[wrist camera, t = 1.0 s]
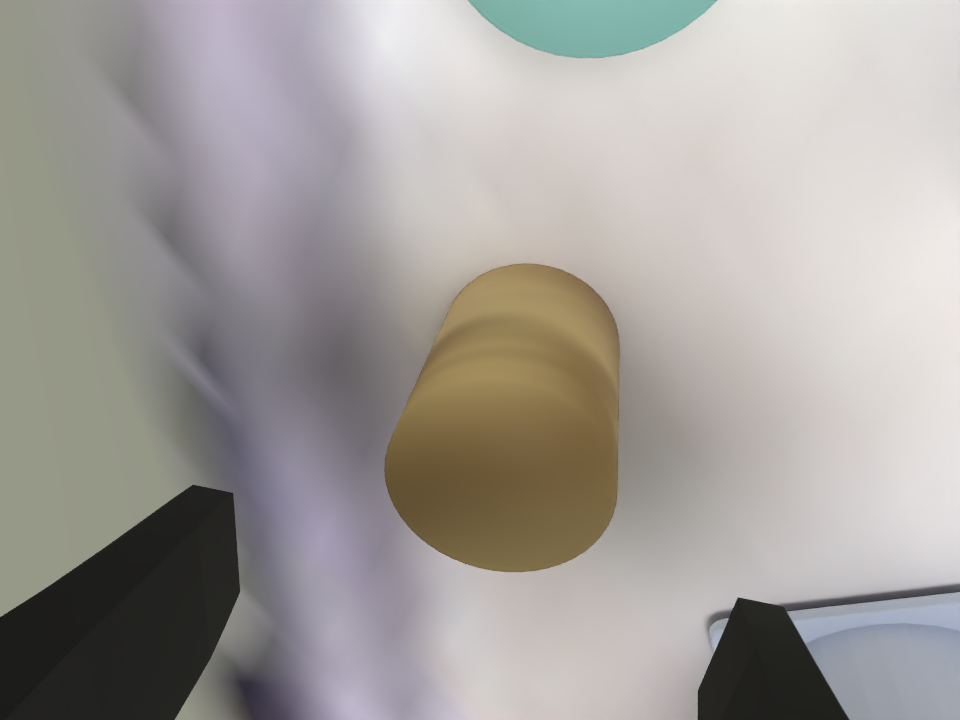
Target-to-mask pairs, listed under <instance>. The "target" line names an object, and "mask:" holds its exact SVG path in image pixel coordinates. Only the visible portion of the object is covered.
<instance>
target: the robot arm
mask: <svg viewBox="0 0 960 720" xmlns="http://www.w3.org/2000/svg"><path fill="white" fill-rule="evenodd" d="M239 593H240V584H239V569H238V555H237V541H236V527H235V513H234V499H233V493H230V492H225V491H221V490H216V489H211V488H206V487H201V486H196V485H192V486H191V487H189V488H188V489H186V490H185V491H183V492H182V493H180V494H179V495H177V496H176V497H175V498H173V499H172V500H170V501H169V502H168V503H166V504H165V505H163V506H162V507H161V508H159V509H158V510H156V511H155V512H154V513H152V514H151V515H150V516H148V517H147V518H146V519H144V520H143V521H141V522H140V523H138V524H137V525H136V526H134V527H133V528H132V529H130V530H129V531H127V532H126V533H125V534H123V535H122V536H120V537H119V538H118V539H116V540H115V541H113V542H112V543H111V544H109V545H108V546H106V547H105V548H104V549H102V550H101V551H99V552H98V553H96V554H95V555H93V556H92V557H91V558H89V559H88V560H86V561H85V562H83V563H82V564H80V565H79V566H77V567H76V568H75V569H73V570H72V571H70V572H69V573H67V574H66V575H64V576H63V577H61V578H60V579H59V580H57V581H56V582H54V583H53V584H51V585H50V586H49V587H47V588H45V589H44V590H42V591H41V592H39V593H38V594H36V595H35V596H33V597H31V598H30V599H28V600H27V601H25V602H24V603H22V604H20V605H19V606H17V607H16V608H14V609H12V610H11V611H9V612H8V613H6V614H5V615H3V616H2V617H0V720H175V718H176V716H177V715H178V713H179V711H180V710H181V708H182V706H183V705H184V703H185V701H186V699H187V698H188V696H189V694H190V693H191V691H192V689H193V688H194V686H195V684H196V682H197V681H198V679H199V677H200V676H201V674H202V672H203V670H204V669H205V667H206V665H207V663H208V662H209V660H210V658H211V656H212V654H213V652H214V650H215V647H216V645H217V643H218V641H219V639H220V637H221V634H222V632H223V630H224V628H225V626H226V623H227V621H228V619H229V616H230V614H231V612H232V609H233V607H234V605H235V602H236V600H237V598H238V595H239ZM710 641H711V645H712V648H713V652H714V655H713V657H712V659H711V662H710V664H709V666H708V669H707V671H706V673H705V676H704V678H703V680H702V683H701V685H700V687H699V690H698V720H960V592H955V593H946V594H937V595H928V596H920V597H911V598H902V599H893V600H884V601H875V602H866V603H857V604H849V605H840V606H831V607H822V608H813V609H804V610H795V611H786V610H785V608H784V607H782V606H777V605H772V604H767V603H762V602H758V601H753V600H748V599H743V598H738V599H737V601H736V603H735V606H734V608H733V610H732V613H731V615H730V617H729V618H725V619H721V620H718V621H716V622H715V623H713V624H712V625H711V627H710Z"/></svg>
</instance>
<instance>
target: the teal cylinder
mask: <svg viewBox="0 0 960 720" xmlns="http://www.w3.org/2000/svg"><path fill="white" fill-rule="evenodd" d="M468 1H469V2H470V3H471V4H472V6H473V7H474V8H475V9H476V10H477V11H478V12H479V13H480V14H481V15H482V16H483V17H484V18H486V19H487V20H488V21H489V22H490V23H492V24H493V25H494V26H495V27H496V28H498V29H499V30H501V31H502V32H504V33H505V34H507V35H509V36H510V37H512V38H513V39H515V40H517V41H519V42H521V43H523V44H526V45H528V46H530V47H532V48H535V49H537V50H541V51H544V52H548V53H551V54H555V55H560V56H567V57H575V58H602V57H609V56H616V55H622V54H626V53H629V52H633V51H636V50H640V49H643V48H646V47H648V46H650V45H653V44H655V43H657V42H660V41H662V40H664V39H666V38H668V37H669V36H671V35H673V34H675V33H676V32H678V31H680V30H681V29H683V28H685V27H686V26H687V25H689V24H690V23H691V22H693V21H694V20H695V19H697V18H698V17H699V16H701V15H702V14H703V13H704V12H705V11H707V10H708V9H709V8H710V7H711V6H712V5H713V4H714V3H715V2H716V1H717V0H468Z"/></svg>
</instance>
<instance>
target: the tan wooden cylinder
mask: <svg viewBox="0 0 960 720" xmlns="http://www.w3.org/2000/svg"><path fill="white" fill-rule="evenodd" d="M618 404H619V335H618V330H617V326H616V323H615V320H614V318H613V315H612V313H611V312H610V310H609V308H608V306H607V305H606V303H605V302H604V301H603V299H602V298H601V297H600V296H599V295H598V294H597V293H596V292H595V291H594V290H593V289H592V288H591V287H590V286H589V285H587V284H586V283H585V282H583V281H582V280H580V279H579V278H577V277H575V276H574V275H572V274H570V273H567V272H565V271H563V270H560V269H557V268H553V267H550V266H545V265H538V264H515V265H509V266H504V267H500V268H497V269H494V270H491V271H489V272H487V273H485V274H483V275H481V276H479V277H478V278H476V279H475V280H473V281H472V282H470V283H469V284H468V285H467V286H466V287H465V288H464V289H463V290H462V291H461V292H460V293H459V295H458V296H457V297H456V299H455V300H454V302H453V304H452V305H451V307H450V309H449V311H448V314H447V316H446V318H445V320H444V322H443V325H442V327H441V329H440V331H439V334H438V336H437V338H436V340H435V342H434V345H433V347H432V349H431V351H430V353H429V356H428V358H427V360H426V362H425V365H424V367H423V369H422V371H421V373H420V376H419V378H418V380H417V382H416V384H415V387H414V389H413V391H412V393H411V396H410V398H409V400H408V402H407V404H406V407H405V409H404V411H403V413H402V416H401V418H400V420H399V422H398V424H397V427H396V429H395V431H394V433H393V435H392V438H391V440H390V443H389V445H388V448H387V453H386V457H385V479H386V485H387V488H388V492H389V495H390V498H391V500H392V502H393V504H394V506H395V508H396V510H397V511H398V513H399V515H400V516H401V518H402V519H403V520H404V521H405V523H406V524H407V525H408V527H409V528H410V529H411V530H412V531H413V532H414V533H415V534H416V535H417V536H419V537H420V538H421V539H422V540H423V541H425V542H426V543H427V544H428V545H430V546H431V547H433V548H435V549H436V550H438V551H439V552H441V553H443V554H445V555H447V556H449V557H450V558H453V559H455V560H457V561H460V562H462V563H465V564H468V565H471V566H475V567H478V568H483V569H488V570H493V571H502V572H527V571H536V570H541V569H546V568H550V567H553V566H557V565H560V564H562V563H564V562H567V561H569V560H571V559H573V558H575V557H576V556H578V555H580V554H581V553H583V552H584V551H586V550H587V549H588V548H589V547H591V546H592V545H593V544H594V543H595V542H596V541H597V540H598V539H599V538H600V536H601V535H602V534H603V532H604V531H605V529H606V528H607V526H608V525H609V522H610V520H611V518H612V516H613V513H614V509H615V505H616V499H617V471H618Z"/></svg>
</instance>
